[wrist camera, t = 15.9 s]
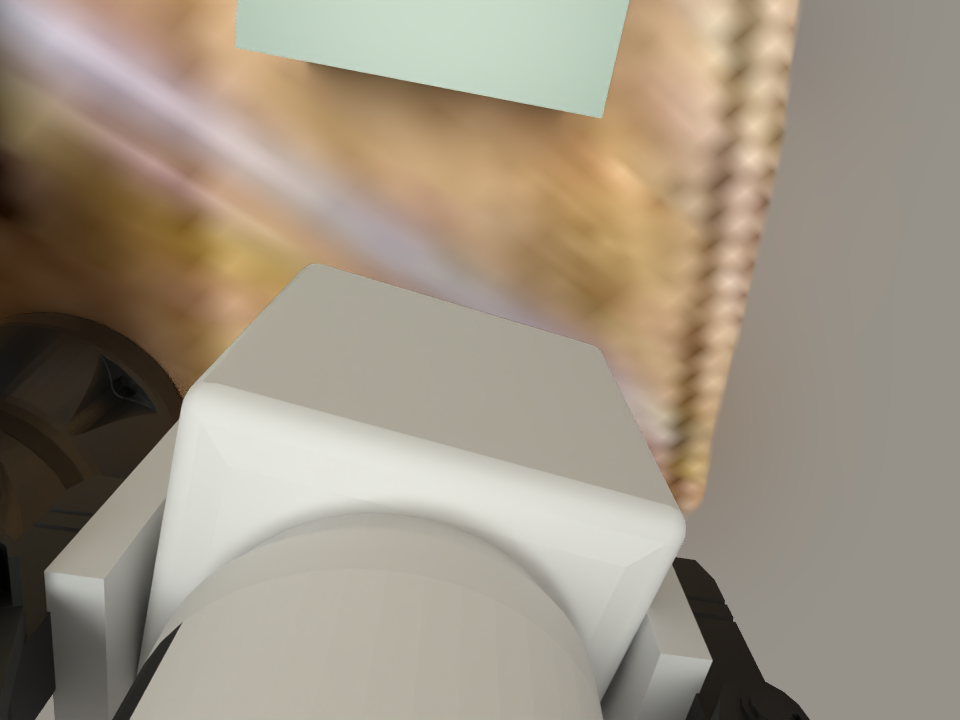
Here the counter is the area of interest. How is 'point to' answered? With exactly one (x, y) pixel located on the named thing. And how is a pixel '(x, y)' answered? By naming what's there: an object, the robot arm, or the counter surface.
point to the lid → (453, 43)
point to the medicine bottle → (400, 520)
